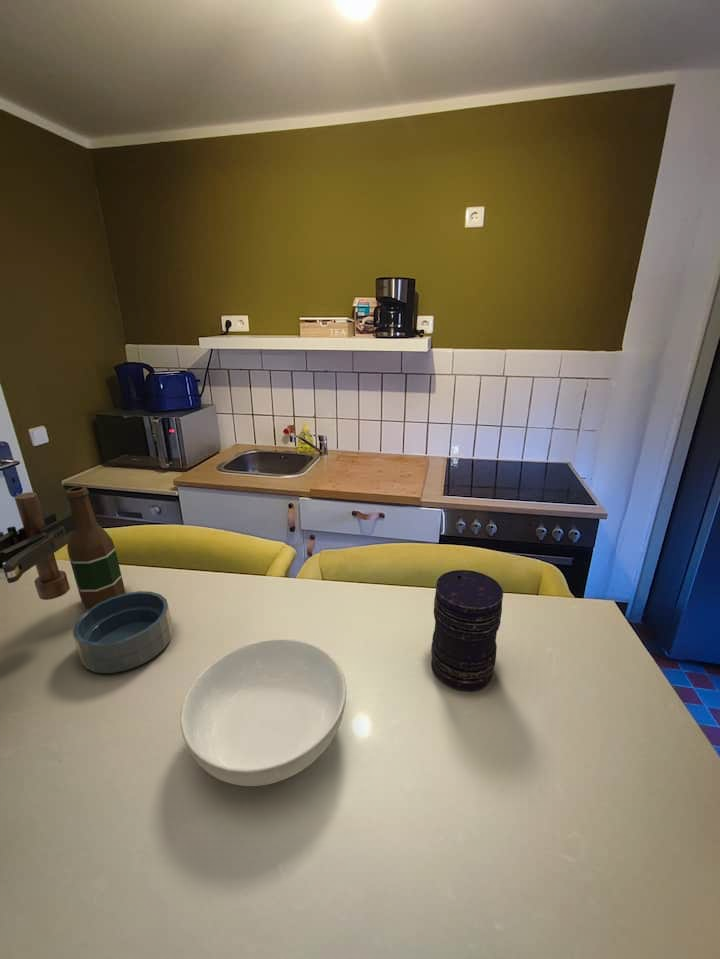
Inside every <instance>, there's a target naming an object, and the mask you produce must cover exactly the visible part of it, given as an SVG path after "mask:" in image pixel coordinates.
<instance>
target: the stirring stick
mask: <svg viewBox="0 0 720 959" xmlns="http://www.w3.org/2000/svg"><path fill="white" fill-rule="evenodd" d="M14 501H15V504H16V507H17V511H18V515H19V517H20V520H21V523H22V528H23V527H24V530H25V533H26V536H27V539H28V538H31V537H33V536H35V535H37V534H39V533H38V530H40V529H42V528H44V527H46V525H45V521H44V518H43V517H44V514H43V511H42V507H41V505H40V501H39V498H38V494H37V492H35V491H34V492H33V491H31V492H23V493H21V494H17V495H16V496H15V497H14ZM35 569H36V572H37V575H38V577H36V578H35V579H34V585H35V589H36V591H37V596H38V599H40V600H43V601H47V600H49V601H50V600H55V599H57V598H60V597H62V596H64V595H66V594H67V593H68V592H69V590H70V589H71V587H70V583H69V580H68V577H67V573H66V572H65V570H59V566H58V562H57V560H56V556H55V551H54V552H53V553H51V554H50V555H49V556H47V557H46V558H44V559H43V560H42V561H40V562H39V563H37V564H36V565H35Z"/></svg>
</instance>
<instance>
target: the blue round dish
mask: <svg viewBox="0 0 720 959" xmlns="http://www.w3.org/2000/svg"><path fill="white" fill-rule="evenodd" d="M171 617H172V616H171V612H170V608H169V604H168V600H167V598H165V597H164V596H163V595H162V594H160V593H157V592H153V591H149V590H148V591H143V590H138V591H131V592H125V594H121V595H118V596H114V597H111V598H109V599H107V600H104V601H102V602H100V603H98V604H96V605H95V606H93V607H92V608H90V609H88V610H87V609H86V611H85V612H84V613H83V614H81V615H80V616H79V618H78V619H77V620H76V621H75V624H74V626H73V627H72V628H73V629H72V631H73V632H72V636H73V639H74V642H75V646H76V649H77V652H78V657H79V659H80V662H81V664H82V665H83V666H84V668H85V669H86V670H89V671H92V672H93V673H98V674H100V673H101V674H114V673H120V672H125V671H127V670H130V669H133V668H136V667H138V666H141V665H143V664H145V663H146V662H148V661H150V660H151V659H153V658H155V657H156V656H157V655H158V654H159V653H161V652H162V651H163V650H164V649H165V648H166V647H167V645H168V644H169V643H170V641H171V640H172V636H173V632H174V627H173V623H172V618H171Z"/></svg>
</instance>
